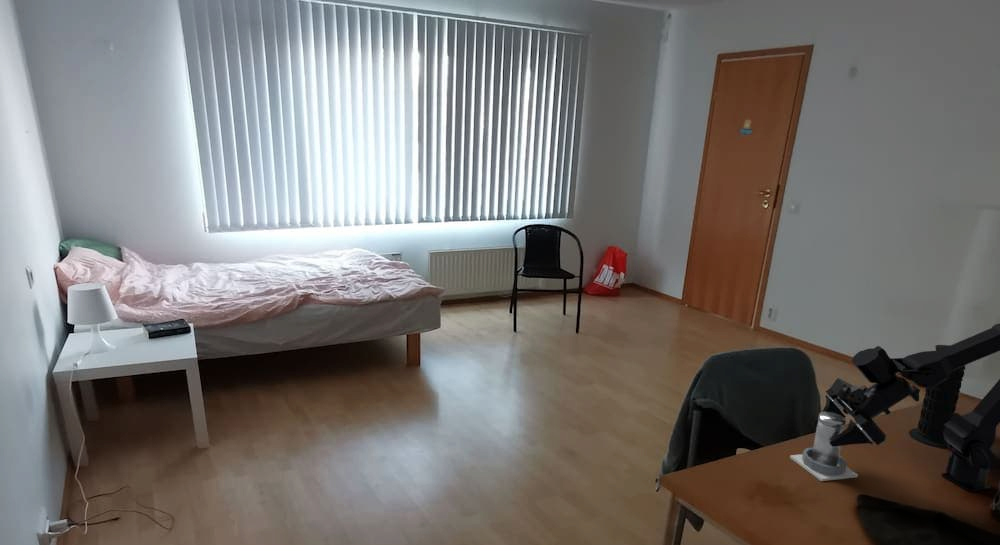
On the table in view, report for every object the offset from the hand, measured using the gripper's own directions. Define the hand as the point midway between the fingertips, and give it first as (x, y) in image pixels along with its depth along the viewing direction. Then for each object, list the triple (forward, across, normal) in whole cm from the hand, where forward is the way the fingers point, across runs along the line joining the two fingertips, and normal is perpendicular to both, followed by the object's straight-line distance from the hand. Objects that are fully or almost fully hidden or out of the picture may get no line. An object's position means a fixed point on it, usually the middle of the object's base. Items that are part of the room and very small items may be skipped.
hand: (822, 434), depth 130 cm
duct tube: (+4, 0, +6) cm, 8 cm away
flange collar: (+5, 0, +7) cm, 8 cm away
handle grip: (-20, -21, +32) cm, 44 cm away
